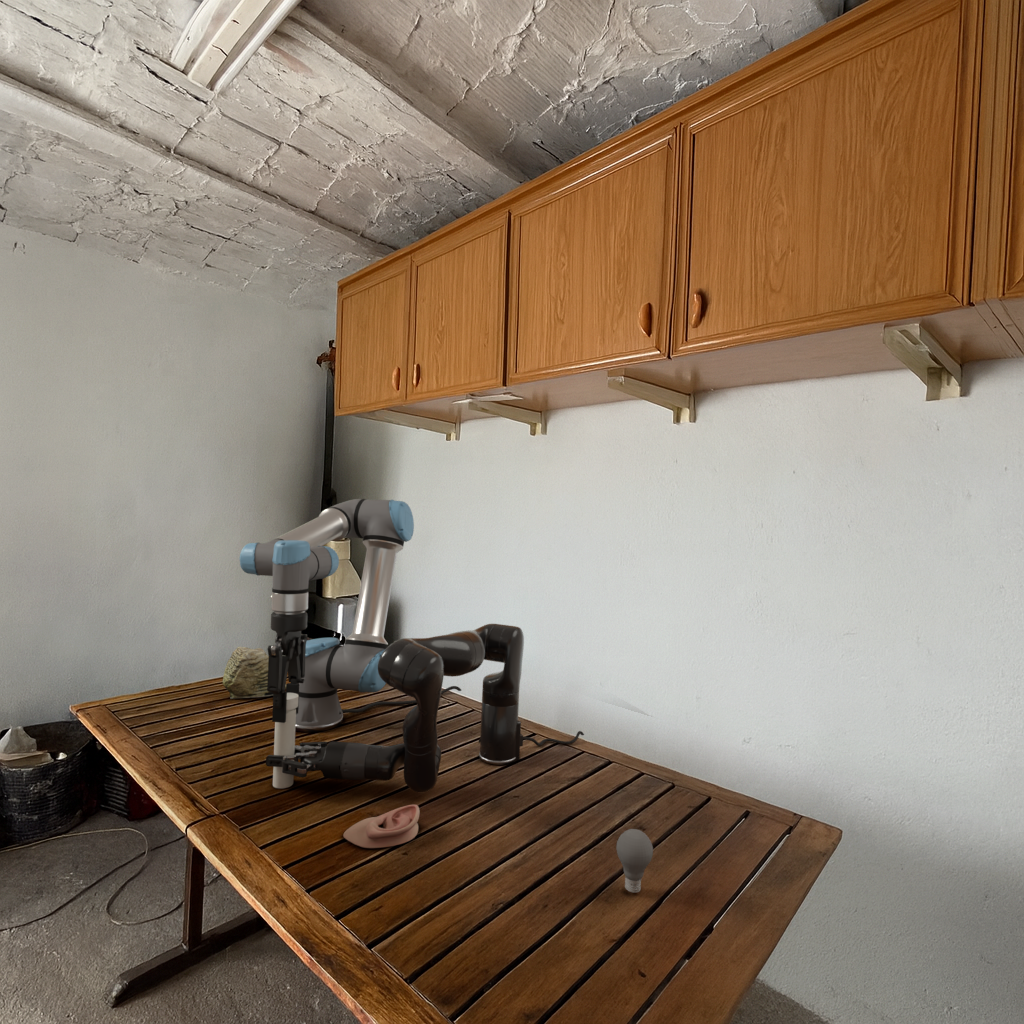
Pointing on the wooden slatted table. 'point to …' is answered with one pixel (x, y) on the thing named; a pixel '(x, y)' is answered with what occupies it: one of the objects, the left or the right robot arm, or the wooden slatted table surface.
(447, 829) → the wooden slatted table surface
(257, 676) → the fossil
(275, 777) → the off-white cylindrical rod
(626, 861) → the light bulb
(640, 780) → the wooden slatted table surface
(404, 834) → the anatomical model
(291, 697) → the lid
